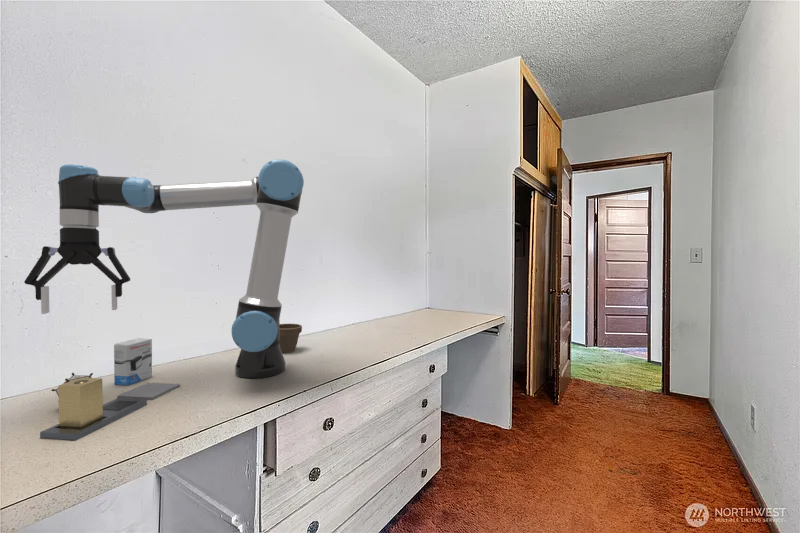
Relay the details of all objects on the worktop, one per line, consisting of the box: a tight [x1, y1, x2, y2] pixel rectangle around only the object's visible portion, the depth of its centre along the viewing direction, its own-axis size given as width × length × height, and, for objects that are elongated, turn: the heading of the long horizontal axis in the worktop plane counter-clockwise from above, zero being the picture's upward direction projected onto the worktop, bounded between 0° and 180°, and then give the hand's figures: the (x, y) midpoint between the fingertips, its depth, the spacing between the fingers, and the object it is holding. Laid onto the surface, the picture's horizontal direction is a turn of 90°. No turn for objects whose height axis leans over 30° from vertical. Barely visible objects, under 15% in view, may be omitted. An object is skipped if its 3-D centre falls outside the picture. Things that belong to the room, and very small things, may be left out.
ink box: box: [113, 337, 153, 386], centre depth 109 cm, size 8×5×12 cm, turn 168°
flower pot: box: [280, 323, 303, 354], centre depth 143 cm, size 12×11×10 cm
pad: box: [116, 382, 181, 401], centre depth 100 cm, size 10×10×1 cm
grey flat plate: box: [39, 397, 148, 441], centre depth 83 cm, size 8×18×1 cm, turn 174°
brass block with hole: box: [58, 377, 104, 430], centre depth 79 cm, size 5×5×10 cm
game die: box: [50, 372, 94, 403], centre depth 90 cm, size 9×8×10 cm
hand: (81, 311), depth 94 cm, fingers open, 13 cm apart
